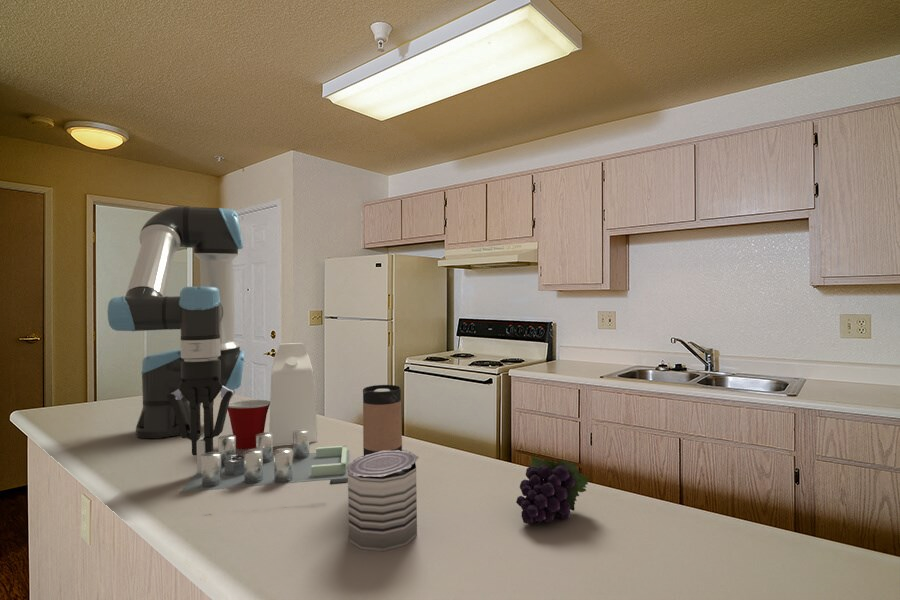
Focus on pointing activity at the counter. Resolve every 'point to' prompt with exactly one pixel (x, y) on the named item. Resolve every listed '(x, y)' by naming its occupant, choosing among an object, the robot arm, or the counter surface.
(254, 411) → the plastic cup
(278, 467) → the spacers
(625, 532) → the counter surface
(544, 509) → the fruit
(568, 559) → the counter surface
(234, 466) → the nut
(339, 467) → the parts pocket
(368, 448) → the travel mug
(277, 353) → the milk
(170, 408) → the robot arm
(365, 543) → the can
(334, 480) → the board
